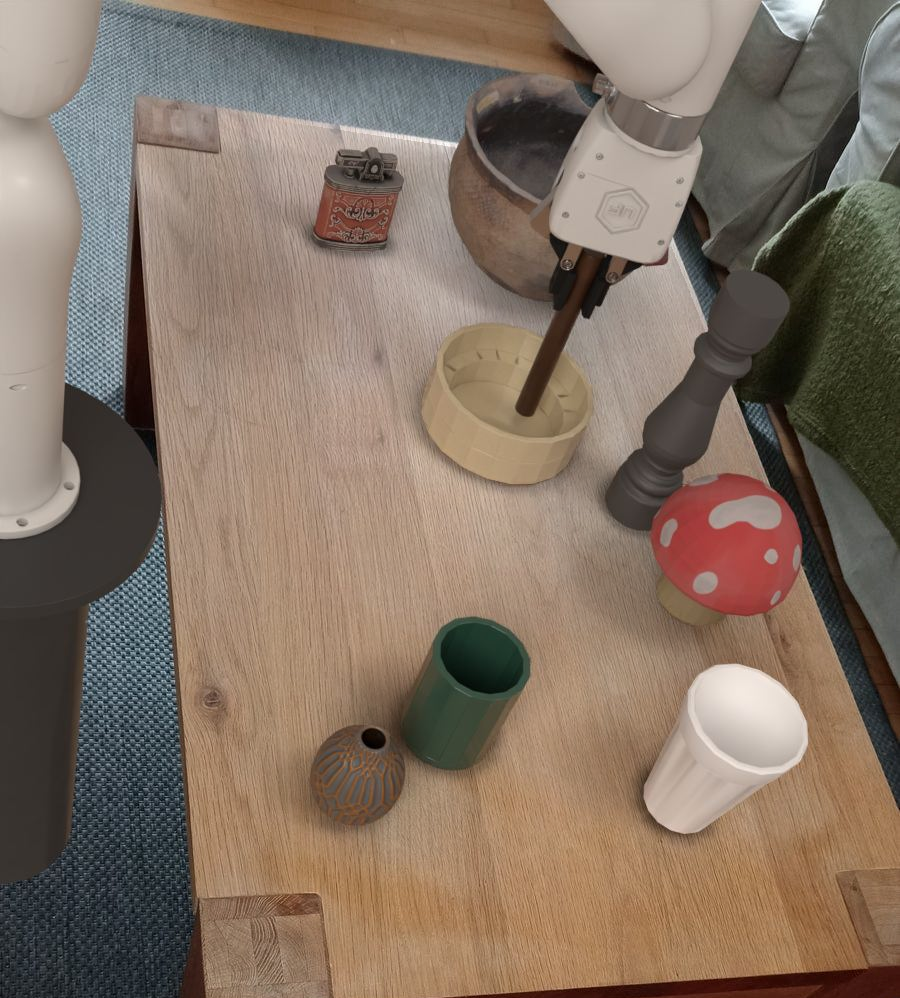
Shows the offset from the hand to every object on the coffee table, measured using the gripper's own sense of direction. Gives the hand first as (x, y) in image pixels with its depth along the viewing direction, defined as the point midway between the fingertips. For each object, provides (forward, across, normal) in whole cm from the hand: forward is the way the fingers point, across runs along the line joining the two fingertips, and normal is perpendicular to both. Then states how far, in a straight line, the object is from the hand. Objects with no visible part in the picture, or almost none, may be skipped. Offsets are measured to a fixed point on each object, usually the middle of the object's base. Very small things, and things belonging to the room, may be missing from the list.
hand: (571, 303), depth 114 cm
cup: (+15, +14, -40) cm, 45 cm away
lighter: (+15, -18, +21) cm, 31 cm away
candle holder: (+15, +12, -7) cm, 20 cm away
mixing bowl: (+15, -2, -1) cm, 15 cm away
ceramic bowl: (+15, +1, +24) cm, 28 cm away
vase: (+15, -14, -45) cm, 50 cm away
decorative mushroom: (+15, +16, -19) cm, 29 cm away
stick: (+13, 0, 0) cm, 13 cm away
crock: (+15, -6, -37) cm, 40 cm away
